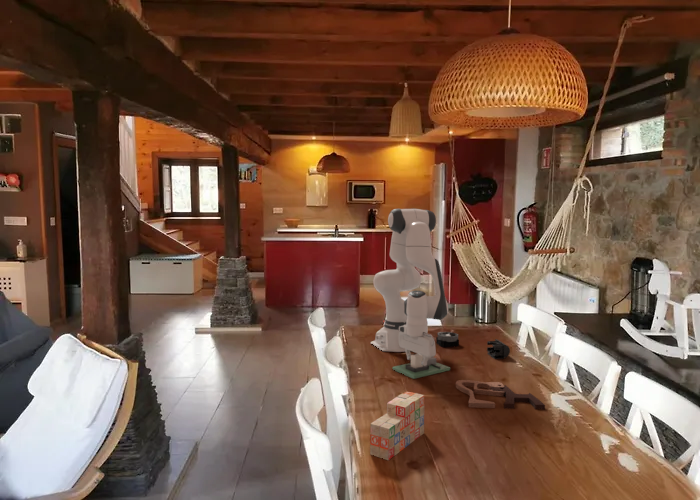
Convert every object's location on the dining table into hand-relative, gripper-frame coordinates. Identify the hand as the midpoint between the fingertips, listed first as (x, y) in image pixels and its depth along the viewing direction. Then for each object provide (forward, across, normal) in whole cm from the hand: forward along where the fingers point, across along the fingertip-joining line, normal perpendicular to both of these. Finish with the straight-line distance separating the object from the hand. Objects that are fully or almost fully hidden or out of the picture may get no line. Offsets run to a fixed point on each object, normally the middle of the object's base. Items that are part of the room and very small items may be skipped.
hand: (416, 362), depth 216 cm
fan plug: (+3, 0, 0) cm, 3 cm away
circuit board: (+4, +1, -3) cm, 5 cm away
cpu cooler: (+5, +24, -40) cm, 47 cm away
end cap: (+4, -3, -46) cm, 47 cm away
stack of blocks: (+4, -48, +46) cm, 67 cm away
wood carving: (+5, -37, -7) cm, 38 cm away
